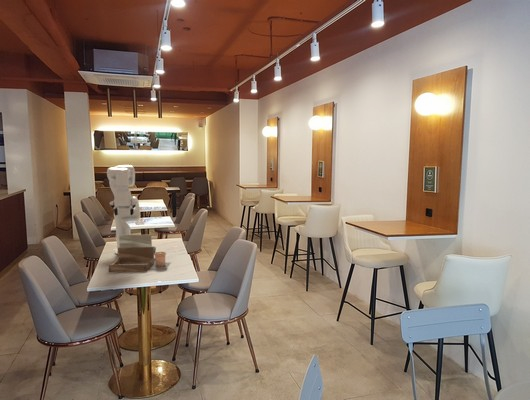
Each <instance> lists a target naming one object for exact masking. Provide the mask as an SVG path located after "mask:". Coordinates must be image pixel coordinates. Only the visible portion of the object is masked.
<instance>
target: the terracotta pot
mask: <svg viewBox="0 0 530 400" xmlns="http://www.w3.org/2000/svg"><path fill="white" fill-rule="evenodd" d="M166 255H167V252H166V251H157V252H155V253H154V263H155V265H156V267H164V266H166V263H167V262H166Z"/></svg>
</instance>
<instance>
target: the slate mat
mask: <svg viewBox="0 0 530 400" xmlns="http://www.w3.org/2000/svg"><path fill="white" fill-rule="evenodd" d="M165 263H166V266H164V267H156V265H155V262H154V263H153V264H152V265H151V266H150V267H149V269H148V270H150V271H152V270H167V268H168V267H169V266H170V264H172V262H165Z"/></svg>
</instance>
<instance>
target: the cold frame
mask: <svg viewBox="0 0 530 400" xmlns="http://www.w3.org/2000/svg"><path fill="white" fill-rule="evenodd" d="M152 239H153V238H152V234H131V235H119V243H120V247H119V248H118V254H117V255H118V258H117V259H116V260H115V261H114V262H113V263H111V264H108V266H107V267H108V273H112V272H115V273H116V272H118V273H119V272H147V271H148V270H149V269H150V268H151V267H152V265H153V264H154V263H155V255H154V247H155V246H153V245H152V244H153V243H152V242H153V241H152ZM152 246H153V247H152Z"/></svg>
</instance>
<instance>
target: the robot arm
mask: <svg viewBox="0 0 530 400" xmlns="http://www.w3.org/2000/svg"><path fill="white" fill-rule="evenodd" d="M106 176H107V179H108V182H109V188H110V190H111V192H112V194H113V196H114V197H113V198H114V199H113V200H111V201H110V202H109V205H110V207H111V208H112V209H113V218H114V225H115V235H116V236H115V237H116V250H115V251H114V254H115V255H118V248H119V247H120V243H119V235H132V233H131V232H132V231H131V226H130V225H129V224H128V222H133V221H134V222H135V221H139V220H140V219H141V210H140V203H139V199H138V197H137V196H132V192H131V190H130V187H134V185H135V184H136V183H135V182H136V169H135V168H134V166H133V165H131V164H130V165H129V164H122V165H121V164H120V165H115V166H114V167H108V168H107V171H106Z"/></svg>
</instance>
